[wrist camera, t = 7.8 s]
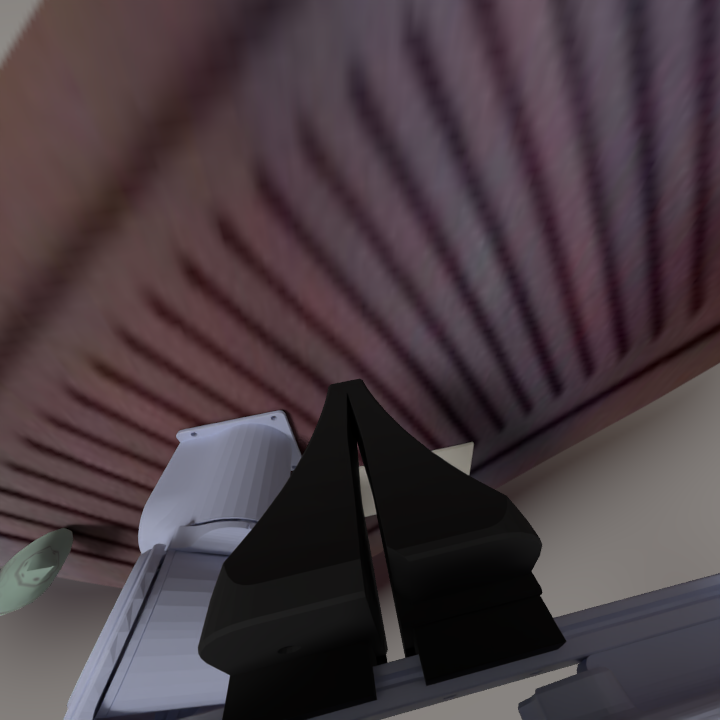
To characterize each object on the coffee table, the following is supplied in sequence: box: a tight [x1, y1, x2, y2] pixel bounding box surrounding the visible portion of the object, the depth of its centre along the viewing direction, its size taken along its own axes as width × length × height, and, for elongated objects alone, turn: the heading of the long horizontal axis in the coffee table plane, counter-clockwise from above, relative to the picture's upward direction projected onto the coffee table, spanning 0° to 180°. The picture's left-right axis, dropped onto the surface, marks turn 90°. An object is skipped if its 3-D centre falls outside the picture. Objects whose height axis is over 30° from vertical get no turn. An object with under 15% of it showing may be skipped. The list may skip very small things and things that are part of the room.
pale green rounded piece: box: [0, 528, 73, 616], centre depth 24 cm, size 8×4×7 cm, turn 138°
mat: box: [359, 442, 474, 517], centre depth 32 cm, size 18×10×1 cm, turn 98°
